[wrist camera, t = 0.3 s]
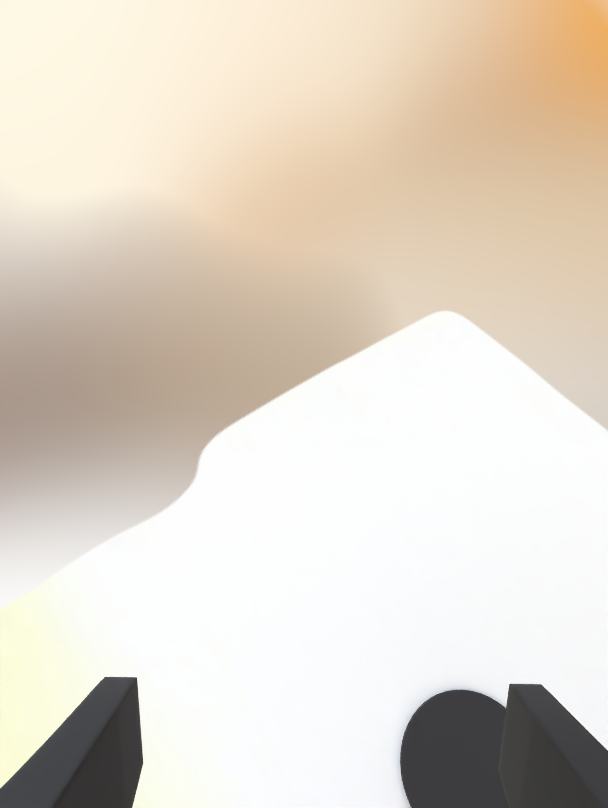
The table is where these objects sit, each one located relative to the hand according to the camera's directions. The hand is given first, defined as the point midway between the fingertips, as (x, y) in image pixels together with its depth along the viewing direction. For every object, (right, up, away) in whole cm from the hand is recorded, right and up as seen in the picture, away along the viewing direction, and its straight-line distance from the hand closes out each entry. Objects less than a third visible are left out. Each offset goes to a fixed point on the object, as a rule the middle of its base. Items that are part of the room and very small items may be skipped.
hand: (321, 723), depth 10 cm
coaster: (+10, -18, +24) cm, 32 cm away
